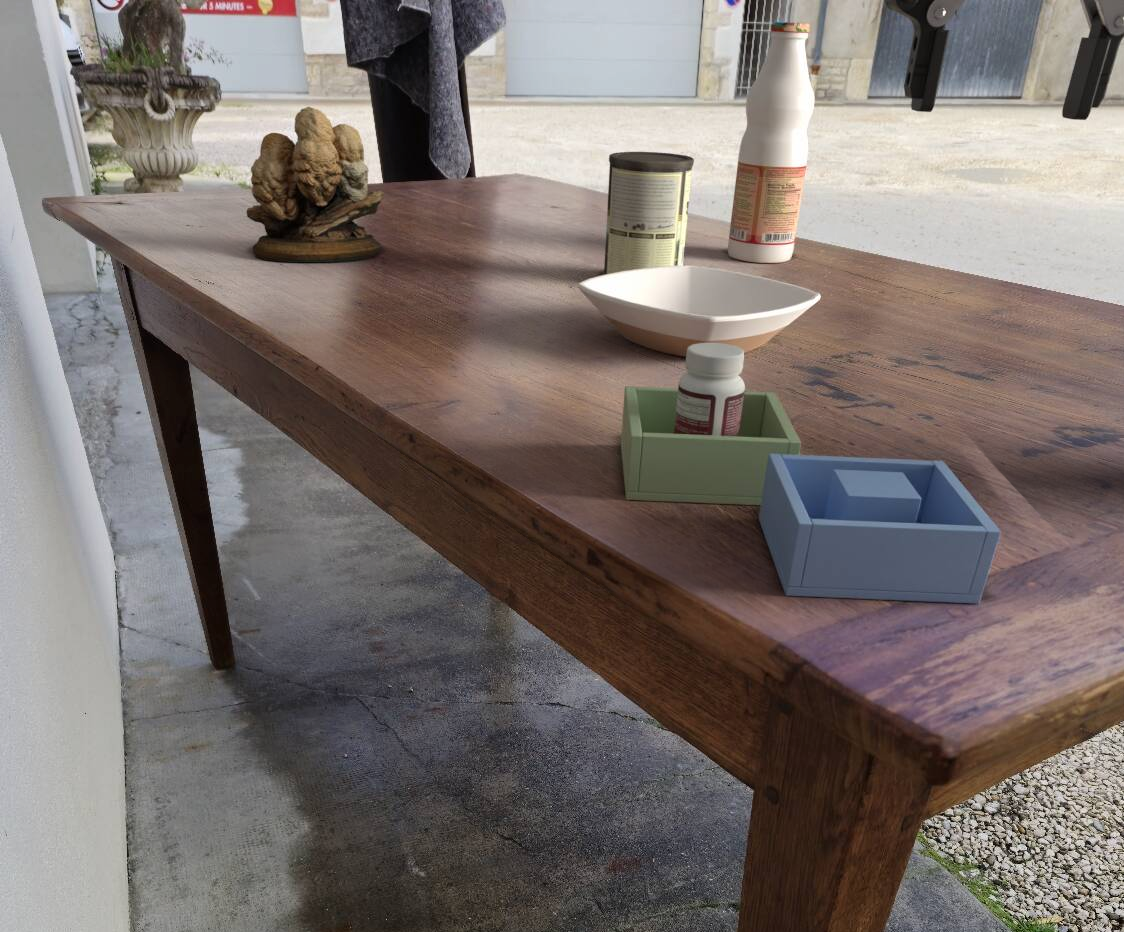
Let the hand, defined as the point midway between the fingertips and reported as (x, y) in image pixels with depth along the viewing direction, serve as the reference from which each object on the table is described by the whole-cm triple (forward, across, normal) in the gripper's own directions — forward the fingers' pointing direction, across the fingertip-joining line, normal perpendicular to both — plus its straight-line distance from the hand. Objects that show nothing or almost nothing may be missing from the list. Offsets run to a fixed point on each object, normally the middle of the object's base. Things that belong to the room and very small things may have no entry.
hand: (998, 114), depth 58 cm
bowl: (+24, -10, +47) cm, 54 cm away
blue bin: (+24, -4, -6) cm, 25 cm away
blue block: (+24, -4, -6) cm, 25 cm away
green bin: (+24, -13, +8) cm, 29 cm away
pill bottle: (+24, -13, +8) cm, 28 cm away
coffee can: (+24, -14, +77) cm, 82 cm away
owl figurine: (+24, -57, +85) cm, 105 cm away
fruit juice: (+24, +4, +97) cm, 100 cm away
